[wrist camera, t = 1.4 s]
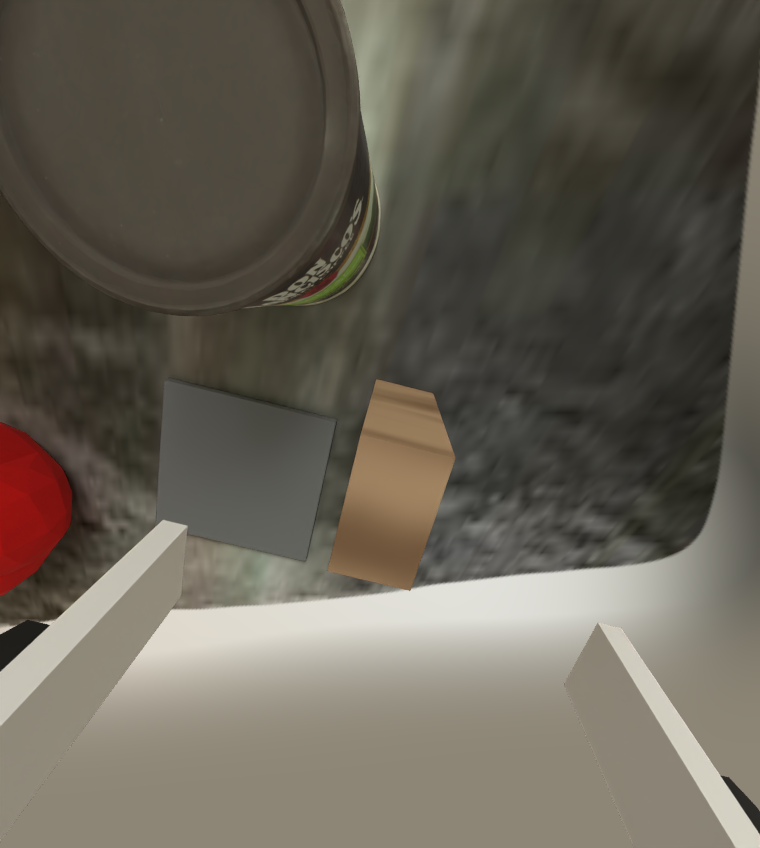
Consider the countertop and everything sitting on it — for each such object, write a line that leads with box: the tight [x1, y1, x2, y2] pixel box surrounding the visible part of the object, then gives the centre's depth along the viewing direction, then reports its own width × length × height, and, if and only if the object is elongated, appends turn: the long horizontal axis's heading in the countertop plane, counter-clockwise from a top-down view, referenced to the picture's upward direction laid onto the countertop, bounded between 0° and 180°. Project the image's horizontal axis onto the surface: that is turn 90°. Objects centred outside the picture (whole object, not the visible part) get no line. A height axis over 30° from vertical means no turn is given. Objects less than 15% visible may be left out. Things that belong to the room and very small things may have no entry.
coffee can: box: [0, 0, 381, 316], centre depth 16 cm, size 10×10×14 cm
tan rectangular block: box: [327, 379, 455, 591], centre depth 22 cm, size 7×4×11 cm, turn 166°
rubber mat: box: [155, 378, 337, 561], centre depth 28 cm, size 12×12×1 cm
